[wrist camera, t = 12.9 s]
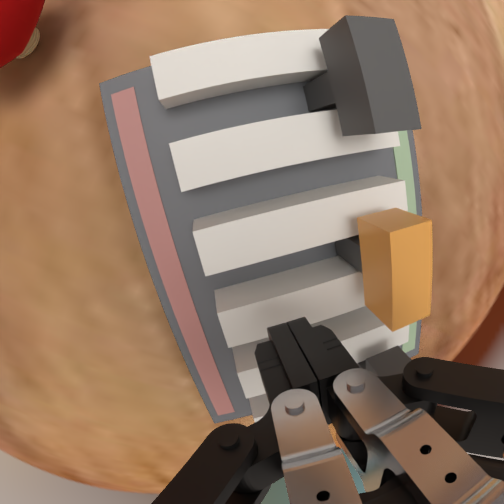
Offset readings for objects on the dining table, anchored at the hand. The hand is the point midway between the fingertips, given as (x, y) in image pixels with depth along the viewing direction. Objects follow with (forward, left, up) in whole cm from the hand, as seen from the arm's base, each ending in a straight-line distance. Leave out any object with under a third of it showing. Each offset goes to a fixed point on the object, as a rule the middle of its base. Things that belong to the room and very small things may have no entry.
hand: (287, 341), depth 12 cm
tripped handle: (+6, 0, -8) cm, 10 cm away
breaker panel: (+3, 0, -11) cm, 12 cm away
